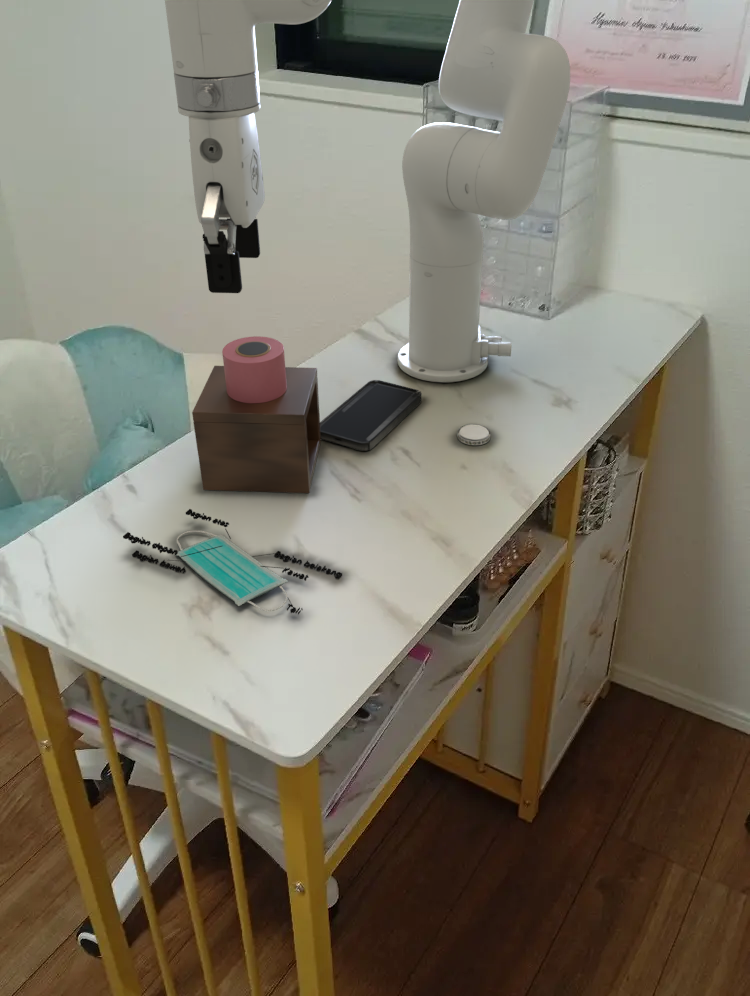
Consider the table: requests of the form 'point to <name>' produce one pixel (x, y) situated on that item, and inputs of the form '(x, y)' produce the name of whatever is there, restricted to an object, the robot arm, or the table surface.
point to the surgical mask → (228, 566)
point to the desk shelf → (259, 436)
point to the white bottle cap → (474, 434)
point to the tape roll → (254, 369)
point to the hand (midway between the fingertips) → (235, 273)
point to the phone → (369, 415)
